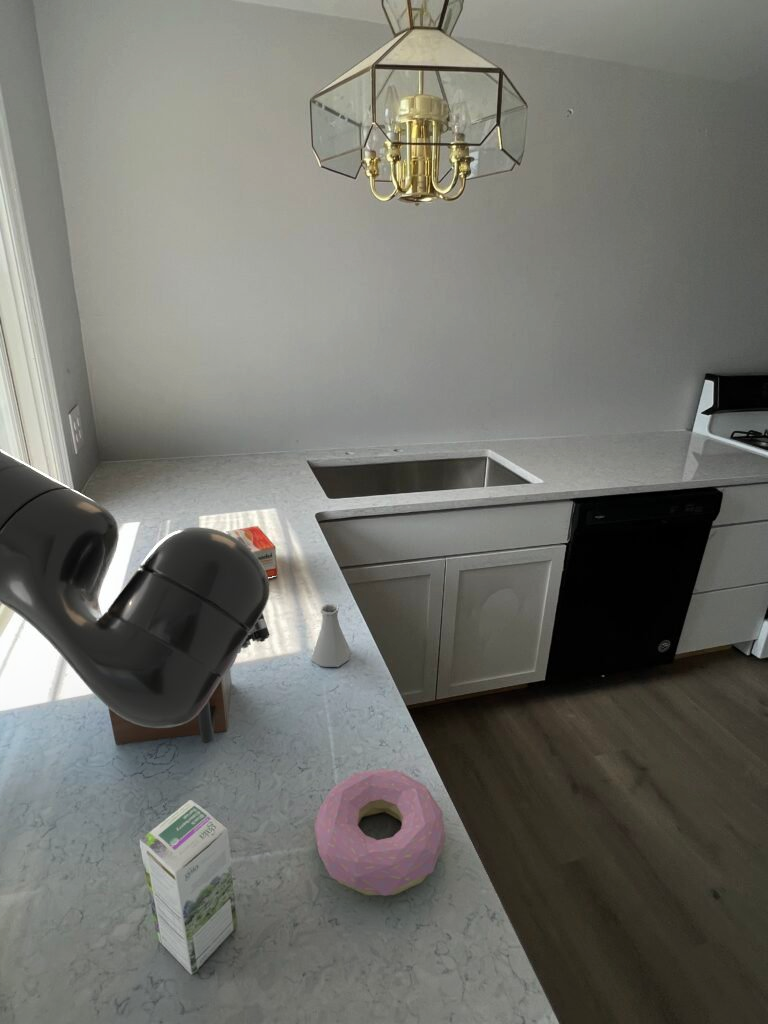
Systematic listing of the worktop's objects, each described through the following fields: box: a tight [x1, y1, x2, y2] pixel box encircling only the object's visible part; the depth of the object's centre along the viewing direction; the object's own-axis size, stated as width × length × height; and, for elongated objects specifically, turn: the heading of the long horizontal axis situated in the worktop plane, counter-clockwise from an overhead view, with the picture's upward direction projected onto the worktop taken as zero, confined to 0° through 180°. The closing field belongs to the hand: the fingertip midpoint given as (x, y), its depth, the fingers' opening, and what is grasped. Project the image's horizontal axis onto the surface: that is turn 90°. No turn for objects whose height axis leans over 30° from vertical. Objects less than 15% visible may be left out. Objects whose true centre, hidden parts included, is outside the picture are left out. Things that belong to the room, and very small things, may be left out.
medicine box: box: [225, 525, 278, 577], centre depth 132 cm, size 15×8×8 cm, turn 29°
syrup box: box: [139, 799, 238, 976], centre depth 54 cm, size 6×6×14 cm
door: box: [107, 679, 228, 745], centre depth 77 cm, size 7×16×14 cm, turn 101°
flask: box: [310, 603, 351, 668], centre depth 99 cm, size 7×7×10 cm
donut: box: [313, 768, 446, 897], centre depth 66 cm, size 16×15×5 cm
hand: (196, 653), depth 60 cm, fingers open, 8 cm apart
